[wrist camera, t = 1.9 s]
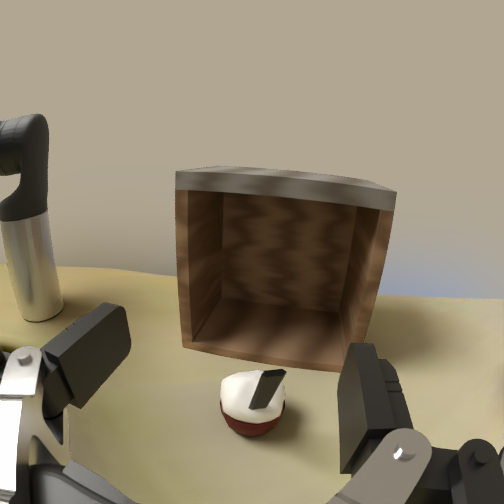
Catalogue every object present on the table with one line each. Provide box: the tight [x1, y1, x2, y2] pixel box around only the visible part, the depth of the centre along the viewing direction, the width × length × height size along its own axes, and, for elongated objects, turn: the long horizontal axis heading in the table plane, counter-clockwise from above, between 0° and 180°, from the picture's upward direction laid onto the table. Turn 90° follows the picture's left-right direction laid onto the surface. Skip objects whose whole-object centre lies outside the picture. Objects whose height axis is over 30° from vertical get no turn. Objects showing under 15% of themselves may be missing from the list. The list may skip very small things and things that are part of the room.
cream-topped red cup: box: [220, 369, 286, 436], centre depth 23 cm, size 10×6×12 cm, turn 169°
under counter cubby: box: [175, 166, 397, 372], centre depth 38 cm, size 23×15×23 cm, turn 78°
